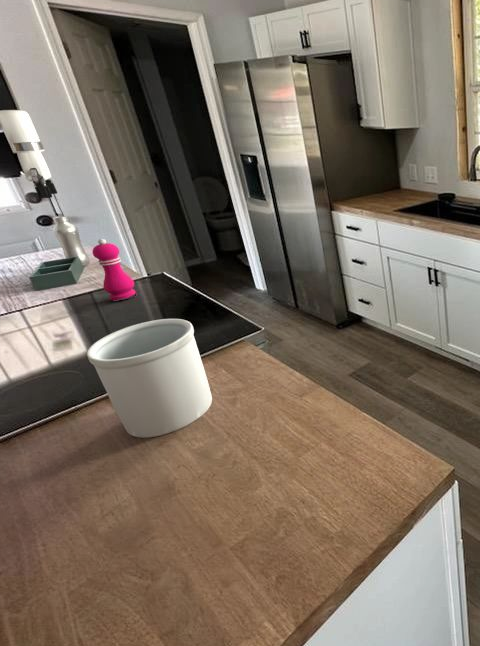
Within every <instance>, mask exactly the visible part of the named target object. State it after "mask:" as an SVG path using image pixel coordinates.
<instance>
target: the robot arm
mask: <svg viewBox="0 0 480 646" xmlns="http://www.w3.org/2000/svg"><path fill="white" fill-rule="evenodd" d="M0 133H4V135H5V137H6V140H7V141H8V144H9V146H10V148H11V150H12V153H13V154H17V158H18V162H19V163H20V166H21V169H22V171H23V174H24V175H25V179H26V181H28V182H32V183H33V187H34V190H35V192H36V194H37V196H38V198H39V199H51V198H53V195H57V194H58V191H57V188H56V186H55V183H54V182H53V179H52V174H51V171H50V169H49V166H48V164H47V162H46V160H45V157H44V156H43V153H42V152H45V149H44V146H43V144H42V141H41V138H40V136H39V135H38V131H37V130H36V128H35V125H34V124H33V121H32V119H31V116H30V113H28V112H27V111H25V110H21V109H3V110H0Z"/></svg>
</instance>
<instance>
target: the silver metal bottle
mask: <svg viewBox="0 0 480 646" xmlns="http://www.w3.org/2000/svg"><path fill="white" fill-rule="evenodd" d="M52 220H53V223H55V225H54V227H53V234H54V236H55V238H56V239H57V241H58V243H59V244H60V246H61V248H62V252H63V255H64V258H71V257H77V256H79V258H80V260H81V262H82V265H83V267H85V266H89V264H90V263H91V259H90V257H89V255H88V253H87V252H86V250H85V249H84V247H83V245H82V241H81V239H80V234H79V229H78V228H77V226H76V225H74V224H72V223H71V222H70V220H69V218H68V216H67V215H59V216H54V217H52Z"/></svg>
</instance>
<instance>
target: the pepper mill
mask: <svg viewBox="0 0 480 646" xmlns="http://www.w3.org/2000/svg"><path fill="white" fill-rule="evenodd" d="M97 243H98V244H97V245H95V246H94V247H93V248H92V255H93V257H94V258H96V259H97V260H98V263H99V266H102V267H101V268H102V269H103V271H104V279H103V290H104V292H106V293H108V294H109V296H108V297H109V299H110V301H111V300H118V299H124V298H128V297H130V296H132V295H134V294H135V293H136V294H137V292H136V290H135V289H134V287H135V281H134V279H132V277H131V276H129V274H127V273H126V272H125V271H124V270H123V268H122V266H121V263H120V262H122V260H121V257H120V256H119V255H120V249H119V246H117V245H116V244H114V243H108V242H107V240H106V239H104V238H100V239H98V240H97Z"/></svg>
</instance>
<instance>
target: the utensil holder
mask: <svg viewBox="0 0 480 646" xmlns="http://www.w3.org/2000/svg"><path fill="white" fill-rule="evenodd" d="M194 333H195V329H194V326H193V324H192V323H191V321H188V320H185V319H181V318H163V319H156V320H150V321H145V322H141V323H137V324H133V325H130V326H126V327H124V328H122V329H119V330H116V331H113V332H112V333H110V334H108V335H105V336H104V337H102V338H100V339H99V340H97V341H96V342H94V343H93V344H91V346H90V347H89V348H88V350H87V352H86V357H87V359H88V361H89V362H90V363H91V365H93V366H94V368H95V370H96V373H97V375H98V377H99V379H100V381H101V383H102V385H103V387H104V389H105V391H106V394H107V396H108V398H109V400H110V402H111V404H112V406H113V408H114V410H115V412H116V414H117V416H118V418H119V420H120V421H121V423H122V425H123V428H124V429H125V431H126V433H127V434H129V435H130V436H132V437H135V438H141V439H145V438H154V437H159V436H164V435H168V434H170V433H173V432H175V431H178V430H180V429H183V428H185V427H187V426H189V425H191V424H192V423H194V422H195V421H197V420H198V419H200V417H202V416H203V415H204V414H205V413H206V412H207V411H208V410H209V408H210V407H211V405H212V402H213V396H212V393H211V389H210V384H209V381H208V377H207V374H206V371H205V368H204V364H203V361H202V358H201V355H200V351H199V348H198V345H197V341H196V339H195V336H194Z"/></svg>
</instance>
